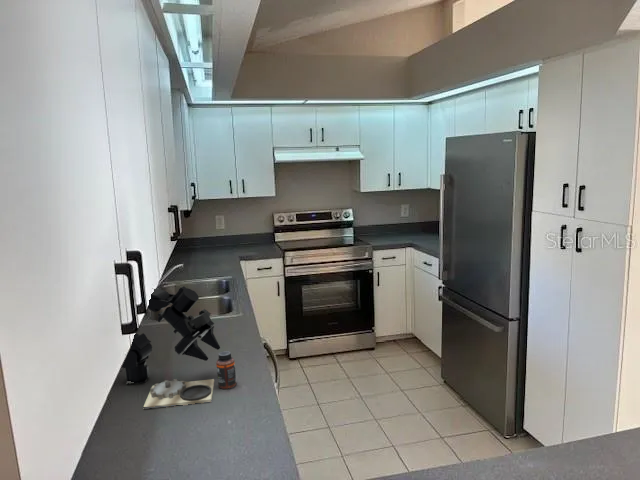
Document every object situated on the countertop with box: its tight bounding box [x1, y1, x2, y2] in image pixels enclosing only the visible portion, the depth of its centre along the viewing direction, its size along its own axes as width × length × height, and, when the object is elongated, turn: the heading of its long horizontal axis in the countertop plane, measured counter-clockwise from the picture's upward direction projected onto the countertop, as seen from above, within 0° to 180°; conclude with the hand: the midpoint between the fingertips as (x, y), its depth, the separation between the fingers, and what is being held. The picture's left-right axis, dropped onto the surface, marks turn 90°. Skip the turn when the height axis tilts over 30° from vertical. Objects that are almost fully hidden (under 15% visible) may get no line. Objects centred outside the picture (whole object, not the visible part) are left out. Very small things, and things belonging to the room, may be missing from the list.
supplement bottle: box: [215, 350, 237, 390], centre depth 158 cm, size 6×6×11 cm
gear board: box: [143, 378, 215, 407], centre depth 153 cm, size 20×14×4 cm
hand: (213, 354), depth 158 cm, fingers open, 9 cm apart
